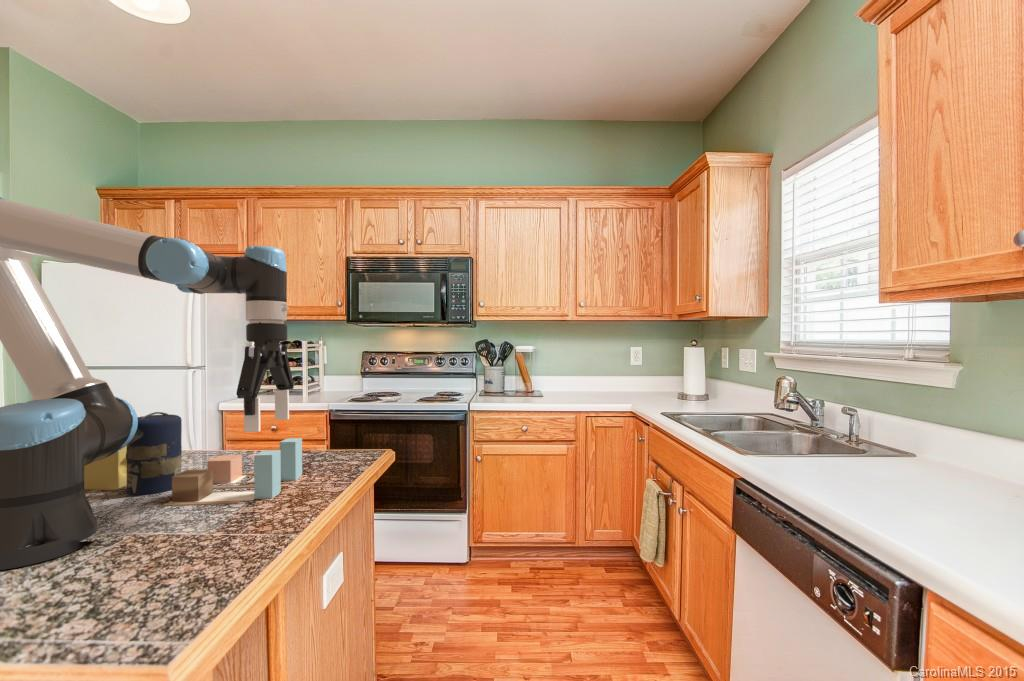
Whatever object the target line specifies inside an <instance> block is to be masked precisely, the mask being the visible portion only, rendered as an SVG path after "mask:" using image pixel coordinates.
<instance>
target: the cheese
mask: <svg viewBox="0 0 1024 681" xmlns="http://www.w3.org/2000/svg"><path fill="white" fill-rule="evenodd" d="M126 451H127V445H126V446H125V447H124V448H122V449H121V450H119V451H118V452H116V453H115V454H113V455H111V456H108V457H106V458H105V459H101V460H98V461H95V462H93V463H90V464H88V465H85V466H84V489H85V490H91V491H92V490H93V491H94V490H95V491H101V490H103V491H115V490H118V489H120V488H123V487H125V486H127V472H126V471H127V459H126Z"/></svg>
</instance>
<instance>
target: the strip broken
mask: <svg viewBox="0 0 1024 681" xmlns="http://www.w3.org/2000/svg"><path fill="white" fill-rule="evenodd" d="M279 450H281V482H282V481H283V482H287V481H288V482H289V481H298V479H299V478H300V477H302V476H303V437H298V438H297V437H295V438H292V437H291V438H288V437H287V438H285V439H282V440H281V441H279ZM245 477H247V475H242V476H241V477H240V478H238V479H236V480H234V481H233V482H231V483H230V484H236V483H238V482H239V481H241V480H242V479H244V478H245ZM246 483H247V484H248V483H249V484H251V483H252V484H254V477H253V478H251V479H250V480H248V481H246ZM214 484H219V485H220V484H221V483H213V485H214Z"/></svg>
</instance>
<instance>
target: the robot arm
mask: <svg viewBox="0 0 1024 681" xmlns="http://www.w3.org/2000/svg"><path fill="white" fill-rule="evenodd" d="M36 255H37V256H40V257H45V258H50V259H51V258H52V259H53V260H54V259H55V260H60V261H66V262H69V263H72V264H73V263H75V264H80V265H84V266H88V267H93V268H98V269H101V270H107V271H113V272H116V273H120V274H125V275H129V276H130V275H132V276H135V277H140V278H144V279H148V280H153V281H158V282H162V283H166V284H171V285H175V287H176V288H177V290H178V291H180V292H182V293H185V294H186V293H187V294H188V293H190V294H198V295H203V294H240V295H241V294H245V320H246V321H247V322H249V323H247V324H246V325H245V335H246V336H245V338H246V340H245V341H247V342H249V343H250V342H251V343H254V345H253V346H252V345H251V346H249V345H247V346H245V347H244V358H243V363H242V367H241V371H240V376H239V380H238V385H237V389H236V396H237V399H243V432H244V433H259V432H261V428H262V427H261V397H258V396H259V393H260V390H261V387H262V384H263V382H264V379H265V375H266V374H267V371H268V370H269V372H270V376H271V377H272V379H273V382H274V385H275V387H276V389H275V390H274V420H275V421H277V420H278V421H284V420H285V421H287V420H290V391H289V390H293V389H294V379H293V375H292V371H291V366H290V361H289V357H288V349H287V345H281V344H280V342H286V341H287V340H288V325H287V324H286V323H285V322H287V320H288V314H287V313H288V311H289V310H290V308H289V306H288V305H287V304H288V303H287V302H288V300H287V298H288V297H287V295H288V294H287V292H288V285H287V284H288V283H287V282H288V280H287V279H288V270H287V261H286V253H285V251H283V250H282V249H280V248H278V247H274V246H273V247H272V246H268V245H267V246H266V245H256V246H255V245H252V246H248V247H246V248H245V250H244V254H243V255H242V256H240V255H239V256H230V255H229V256H227V255H215V254H213V253H212V252H209V251H206V250H205V249H203V248H202V247H199V246H198V245H197V244H194V243H193V242H191V241H189V240H185V239H182V238H177V237H164V236H158V235H156V234H155V235H154V234H151V233H146V232H143V231H138V230H135V229H130V228H125V227H121V226H118V225H113V224H108V223H105V222H99V221H97V220H92V219H87V218H84V217H80V216H75V215H70V214H66V213H63V212H59V211H54V210H49V209H45V208H42V207H41V208H40V207H37V206H34V205H33V206H32V205H29V204H24V203H20V202H16V201H11V200H7V199H5V198H4V197H1V196H0V342H1V344H2V345H3V347H4V350H5V351H6V353H7V355H8V356H9V358H10V360H11V362H12V364H13V365H14V367H15V368H16V370H17V372H18V373H19V375H20V377H21V379H22V381H23V383H24V384H25V385H26V388H27V389H28V391H29V392H30V395H31V396H32V397H31V400H29V401H26V402H17V403H10V404H7V405H4V406H3V405H2V406H0V571H4V570H10V569H11V570H12V569H17V568H20V567H26V566H30V565H35V564H39V563H43V562H46V561H50V560H53V559H56V558H60V557H63V556H65V555H68V554H70V553H73V552H75V551H78V550H80V549H83V548H85V547H86V546H88V545H90V544H91V543H93V542H94V541H93V540H88V541H87V540H86V539H88V538H90V537H91V536H93V535H94V534H96V533H97V532H98V530H99V529H100V528H99V526H100V523H99V520H98V518H97V517H95V515H94V511H93V509H92V506H91V504H90V502H89V499H88V498H87V495H86V492H85V490H86V489H84V466H85V465H88V464H90V463H93V462H95V461H98V460H101V459H105V458H106V457H108V456H111V455H113V454H115V453H116V452H118V451H119V450H121V449H122V448H124V447H125V446H126V445H127V444H128V443H129V442H130V441H131V440H132V438H133V437H134V435H135V433H136V430H137V426H138V418H137V417H138V414H137V412H136V410H135V408H134V407H133V406H132V405H131V403H129V402H128V401H127V400H125V399H122V398H119V397H117V396H115V395H114V393H113V391H112V390H111V388H110V386H109V384H108V382H107V381H106V380H102V379H98V378H95V377H94V376H92V374H91V373H90V371H89V368H88V367H87V365H86V364H85V362H84V360H83V358H82V356H81V355H80V353H79V351H78V349H77V347H76V346H75V344H74V342H73V341H72V338H71V337H70V335H69V332H68V331H67V329H66V328H65V326H64V324H63V322H62V320H61V319H60V317H59V315H58V312H57V311H56V309H55V308H54V305H53V304H52V303H51V301H50V299H49V297H48V295H47V294H46V291H45V290H44V288H43V287H42V285H41V283H40V281H39V279H38V277H37V276H36V274H35V272H34V270H33V268H32V266H31V265H30V263H31V261H32V260H33V259H34V257H35V256H36ZM85 540H86V541H85Z"/></svg>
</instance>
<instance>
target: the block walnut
mask: <svg viewBox="0 0 1024 681" xmlns="http://www.w3.org/2000/svg"><path fill="white" fill-rule="evenodd" d="M213 486H214V484H213V469H205V468H203V469H186V470H184V471H183V472H182V471H181V473H180V474H177V475H175V476H173V477H172V490H171V501H172V502H192V501H200V500H202V499H203V498H205V497H207V496H209V495H210V494H212V493H214V489H213Z"/></svg>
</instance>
